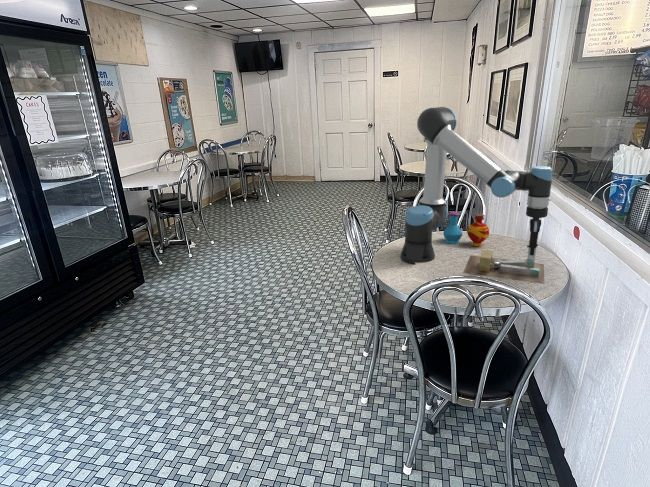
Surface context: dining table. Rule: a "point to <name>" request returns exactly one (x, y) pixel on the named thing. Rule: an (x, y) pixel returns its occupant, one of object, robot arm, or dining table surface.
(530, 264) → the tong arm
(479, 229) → the red yellow vase
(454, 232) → the blue vase
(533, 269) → the tongs fixed arm
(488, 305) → the dining table surface
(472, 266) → the walnut board
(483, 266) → the translucent yellow block
